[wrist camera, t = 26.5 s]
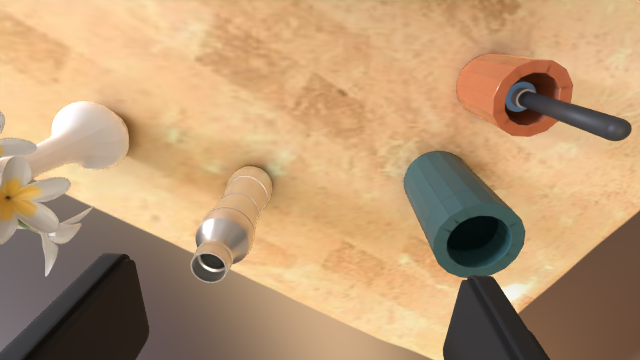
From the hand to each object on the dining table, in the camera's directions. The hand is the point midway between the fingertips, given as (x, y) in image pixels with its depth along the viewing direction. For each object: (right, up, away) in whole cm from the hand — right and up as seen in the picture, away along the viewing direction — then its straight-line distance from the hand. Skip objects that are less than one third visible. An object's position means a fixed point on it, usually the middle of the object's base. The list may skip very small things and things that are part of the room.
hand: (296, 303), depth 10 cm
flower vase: (-29, +11, +38) cm, 49 cm away
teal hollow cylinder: (+18, +4, +40) cm, 44 cm away
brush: (+22, +16, +33) cm, 43 cm away
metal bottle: (-9, +3, +41) cm, 42 cm away
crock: (+22, +16, +34) cm, 44 cm away
